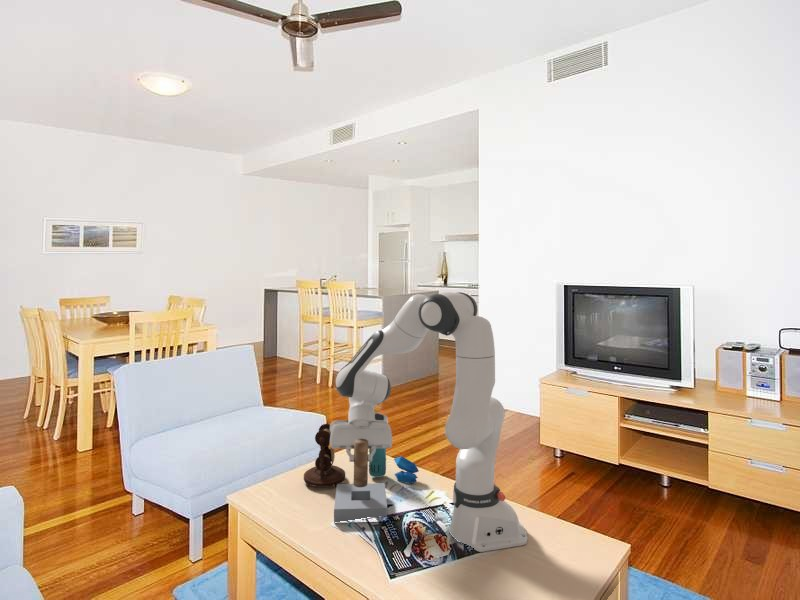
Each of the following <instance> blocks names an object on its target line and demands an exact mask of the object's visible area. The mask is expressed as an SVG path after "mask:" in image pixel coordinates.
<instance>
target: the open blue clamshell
mask: <svg viewBox="0 0 800 600" xmlns="http://www.w3.org/2000/svg"><path fill="white" fill-rule="evenodd" d="M393 460H394V462H395V464H396V466H397V467H398V468H399V469H400V470H401V471H399V472H398V471H397V472H396V473H394V477H395V478H396V479H397V481H398V482H402V483H406V484H413V483H416V482H417V479H418V476H417V475H416V473H419V472H420V471H419V468H418V466H417V465H416V464H415V463H414V462H412V460H411V461H410V460H409V459H407V458H406V457H404V456H399V457H395V458H393Z"/></svg>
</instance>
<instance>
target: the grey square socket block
mask: <svg viewBox="0 0 800 600" xmlns="http://www.w3.org/2000/svg"><path fill="white" fill-rule="evenodd" d="M333 505H334V506H333V524H334V523H335V522H340V521H348V520H355V519H361V518H367V517H379V516H387V517H388V503H387V494H386V483H384V482H382V483H376V482H375V483H374V482H373V483H368V484H367V486H365V487H356V486H354V483H342V484H341V483H339V484H337V487H336V488H335V498H334V504H333Z"/></svg>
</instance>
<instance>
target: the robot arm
mask: <svg viewBox="0 0 800 600" xmlns="http://www.w3.org/2000/svg"><path fill="white" fill-rule="evenodd" d="M477 314H478V305H477V302H476V300H475V299H474V297H472V296H471V295H469V294H468V293H464V292H461V291H459V292H452V291H450V292H449V291H446V292H445V291H444V292H441V293H434V294H431V295H429V296H427V295H424V294H422V293H421V294H420V293H418V294H413V295H412V296H410V297H409V299H408V300H407V301H406V302H405V303H404V304H403V305H402V307H401V308H400V309H399V310H398V312H397V314H396V315H395V317H394V318H393V320H392V321H391V322H390V323H389V324H388V325H386V326H385V327H384V328H382V329H380V330H376V331H375V332H373V334H372V335H370V336H369V338H368V339H366V341H365V342H364V344H363V345H362V346H361V347H360V348H359V350H358V351H357V352H356V353H355V355H353V356H352V358H351V359H350V360H349V361H348V363H347V364H345V365H344V366H343V367H342V368H341V369H340V370H339V371H338V372H337V375H336V377H335V380H334V381H335V382H334V386H335V389H336V390H337V393H338V394H339V395H340V396H341V397H345V398H348V403H349V407H348V415H347V416H348V418H347V420H345V419H343V420H338V419H337V420H334V421H332V422H331V423H330V432H331V436H330V444H329V447H331V448H332V449H334V450H346V454H347V455H348V458H349V459H348V460H349V463H351V462H352V463H354V454H352V453H351V451H352V449H353V450H354V441H355V440H357V439H366V440H368V450H369V449H370V448H371V451H372V452H371V454H369V453H368V462H369V461H371V462H372V456H373V455H374V453H375V452H376V448H386V449H390V448H391V447H392V446H393V434H392V428H391V425H390V424H389V419H388V415H386V414H382V413H380V412H376V411H375V407H376V406H378V405H380V404H382V403H384V402H386V400H388V399H389V398H390V395H391V388H392V386H391V381H390V379H389V377H388V376H387V375H384V374H382V373H378V372H374V371H370V370H366V368H367V367H368V365H370V363H371V362H372V361H373V360H374V359H375V358H376V357H378V356H381V355H389V354H390V355H391V354H406V353H411V352H412V351H414V350H416V349H417V348H418V347H419V346H420V344H421V343H422V342H423V341H424V338H425V337H426V335H427V334H428V332H429V331H432V332H436V333H439V334H441V335H444V336H446V337H447V336H450V335H452V336H453V339H454V341H455V387H454V392H453V393H454V394H453V396H452V397H453V398H452V403H451V408H450V412H449V416H448V419H447V420H446V422H445V427H444V434H445V437H446V439H447V440H448V442H449V443H450V444H451V445H452V446H453V447H455V448H456V449H459V451H458V453H457V454H456V455H457V456H456V458H455V481H454V484H453V491H452V492H453V496H452V498H453V499H452V500H453V501H452V502H453V511H452V516H451V522H450V524H449V527H450V532H451V534H452V535H453V536H454V538H456V539H457V540H458V541H460V542H462V543H464V544H467V545H469V546H468V547H470V546H471V547H470V548H471V549H473V548H474V549H473V550H475V551H477V552H480V553H484V552H489V551H495V550H502V549H507V548H513V547H514V548H515V547H520V546H525V545H527V543H528V541H529V540H528V534H527V531H526V529H525V527H524V525H523V524H522V523H521V522H520V521H519V517H518V515H517V513H516V510H515V509H514V508H513V507H512V506H511V505H510V504H509V503H508V502H506V501H505V500H506V499H507V498H506V495H505V493H504V492H503V491H501V489H500V487H498V486H497V485H496V484H495V466H496V465H495V464H496V456H497V454H498V453H497V452H498V448H499V442H500V438H501V437H500V436H501V431H502V426H503V424H504V420H505V417H506V413H505V408H504V405H503V404H502V403H501V401H499V400H498V399H496V398H495V397H492V394H493V391H494V387H495V384H496V352H495V351H496V350H495V349H496V348H495V341H494V340H495V339H494V333H493V328H492V325H491V323H490V321H489V320H488V319H487V318H485V317H483V316H479V315H478V316H477ZM331 448H330V449H331ZM458 541H457V542H458ZM462 543H461V544H462ZM464 544H463V545H464ZM467 545H466V546H467Z"/></svg>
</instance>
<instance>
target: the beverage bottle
mask: <svg viewBox="0 0 800 600" xmlns="http://www.w3.org/2000/svg"><path fill="white" fill-rule="evenodd" d="M371 452H372V451H371V448H370V449H368V454H371ZM386 474H387V448H376V452H375V453H374V455H373V456H372V462H371V461H368V475H369V476H371V477H374V478H380V477H381V478H382V477H383V476H385V475H386Z"/></svg>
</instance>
